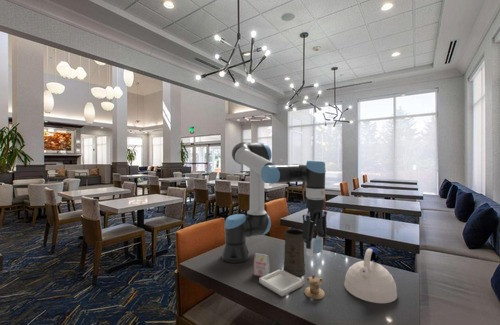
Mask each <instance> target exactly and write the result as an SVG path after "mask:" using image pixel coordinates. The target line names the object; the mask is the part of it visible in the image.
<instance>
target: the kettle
mask: <svg viewBox="0 0 500 325" xmlns="http://www.w3.org/2000/svg"><path fill="white" fill-rule="evenodd" d="M373 253H375V254H379V251H378V249H377V248H376V247H375V246H370V247H368V248H366V250H365V254H364V257H363V260H360V261H357V262H355V263H353V264H352V265H350V267H349V268H348V269H347V271H346V274H345V278H344V284H343V285H344V289H346V291H348V292H349V294H351V295H352V296H353V297H355V298H358V299H360V300H362V301H366V302H369V303H374V304H389V303H392V302H394V301H396V300H397V298H398V293H397V291H398V290H397V284H396V281H395V279H394V278H393V277H394V276H393V275H392V274H391V273H390V272H389V271H388V270H387V268H385V266H383V265H381V264H380V263H377V262H375V259H372V260H371V258H372V254H373Z"/></svg>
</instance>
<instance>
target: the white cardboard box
mask: <svg viewBox="0 0 500 325" xmlns="http://www.w3.org/2000/svg"><path fill="white" fill-rule="evenodd" d="M270 263H271V262H270V258H269V255H268V254H264V253H257V252H255V253H254V258H253V276H257V277H263V276H265V275H267V274H270V267H271V266H270V265H271V264H270Z"/></svg>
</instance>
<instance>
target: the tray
mask: <svg viewBox="0 0 500 325" xmlns="http://www.w3.org/2000/svg"><path fill="white" fill-rule="evenodd" d="M258 283H259V284H260V285H262V286H264V287H266V288H267V289H268V290H270V291H272V292H274V293H276V294H277V295H278V296H280V297H284V296H286V295H288V294H291V293H292V292H294V291H296V290H298V289H299V288H301V287H303V286H305V279H302V278H301V277H299V276H294V275H292V274H290V273H288V272H286V271H284V270H283V269H282V268H280V269H277V270H275V271H272V272H269V274H267V275H265V276H263V277H261V276H259V278H258Z"/></svg>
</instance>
